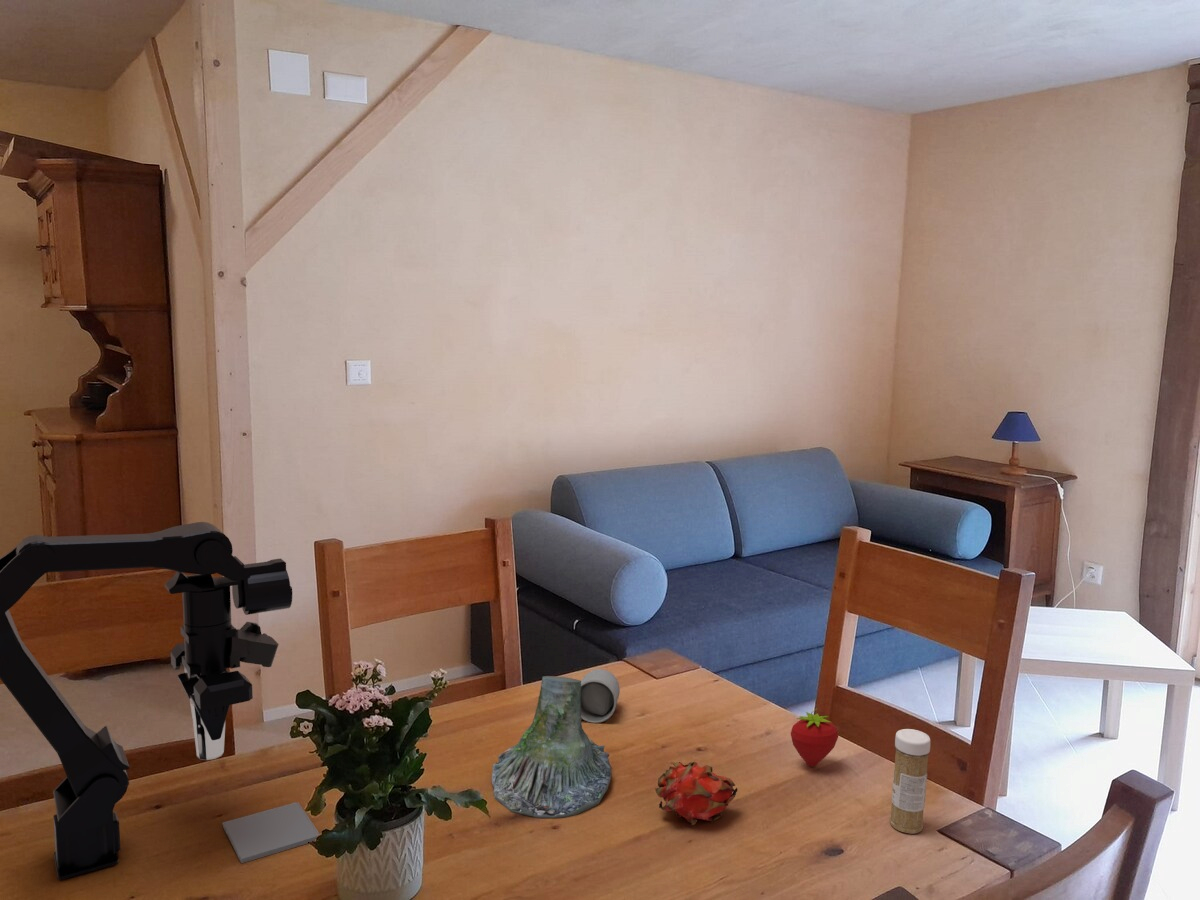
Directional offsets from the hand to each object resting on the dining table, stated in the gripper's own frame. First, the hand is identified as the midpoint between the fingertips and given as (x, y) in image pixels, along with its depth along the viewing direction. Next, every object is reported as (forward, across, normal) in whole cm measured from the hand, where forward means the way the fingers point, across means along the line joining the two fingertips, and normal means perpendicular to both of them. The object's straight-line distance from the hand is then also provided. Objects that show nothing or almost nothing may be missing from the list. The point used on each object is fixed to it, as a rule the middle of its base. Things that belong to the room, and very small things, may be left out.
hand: (212, 733), depth 121 cm
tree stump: (+14, -15, -44) cm, 49 cm away
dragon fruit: (+14, -34, -56) cm, 67 cm away
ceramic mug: (+14, +2, -63) cm, 64 cm away
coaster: (+13, -6, -6) cm, 15 cm away
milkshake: (+3, 0, 0) cm, 3 cm away
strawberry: (+14, -33, -81) cm, 89 cm away
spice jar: (+14, -52, -79) cm, 96 cm away
